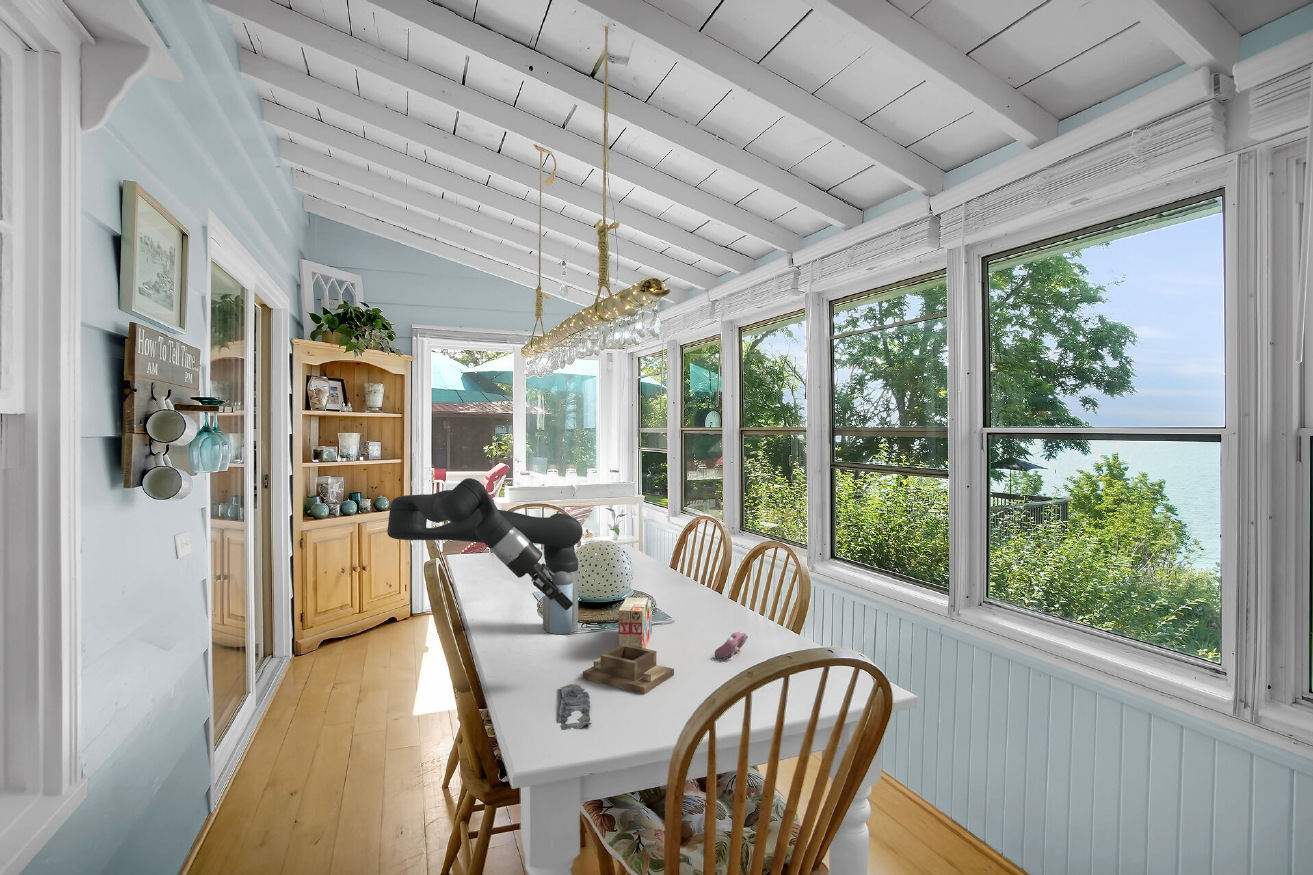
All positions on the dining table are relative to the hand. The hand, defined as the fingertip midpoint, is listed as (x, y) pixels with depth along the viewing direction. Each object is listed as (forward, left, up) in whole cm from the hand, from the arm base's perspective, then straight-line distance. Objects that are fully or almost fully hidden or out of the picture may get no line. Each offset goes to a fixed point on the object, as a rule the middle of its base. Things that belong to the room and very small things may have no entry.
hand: (569, 603), depth 146 cm
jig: (+10, +10, -18) cm, 23 cm away
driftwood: (+9, -10, -19) cm, 23 cm away
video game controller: (+24, +37, -18) cm, 47 cm away
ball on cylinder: (-2, -1, -6) cm, 6 cm away
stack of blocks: (-2, +30, -18) cm, 35 cm away
